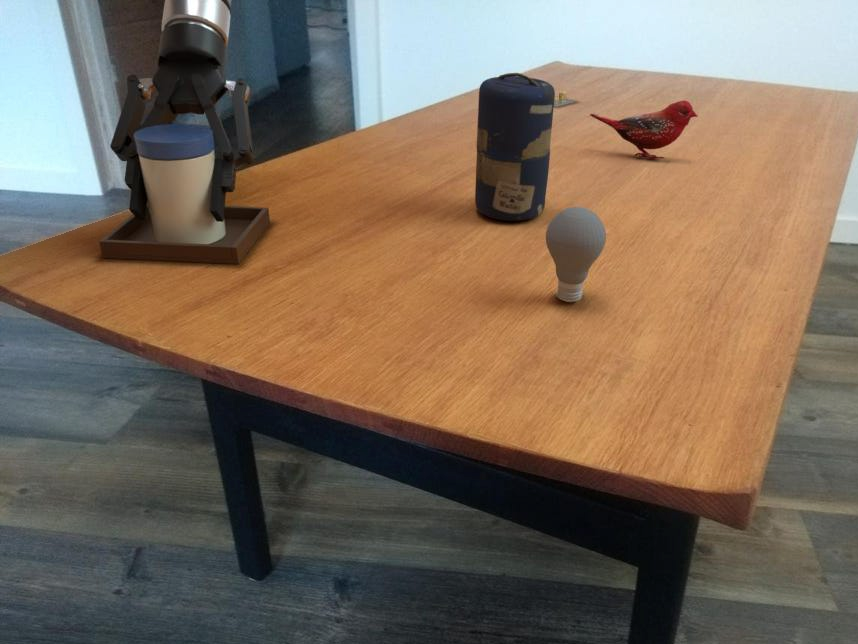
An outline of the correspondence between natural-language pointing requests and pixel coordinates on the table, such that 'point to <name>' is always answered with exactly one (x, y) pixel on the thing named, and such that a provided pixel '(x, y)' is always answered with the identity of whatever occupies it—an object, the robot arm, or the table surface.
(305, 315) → the table surface
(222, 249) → the tray
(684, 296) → the table surface
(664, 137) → the decorative bird figurine
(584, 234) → the light bulb
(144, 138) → the jar lid
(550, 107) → the canister
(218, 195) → the robot arm
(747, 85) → the table surface
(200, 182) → the jar
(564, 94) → the dice set
